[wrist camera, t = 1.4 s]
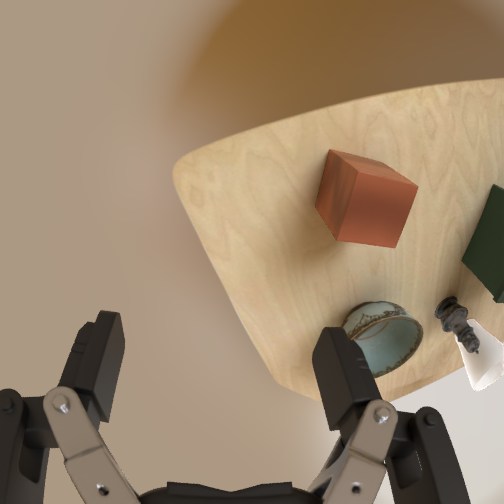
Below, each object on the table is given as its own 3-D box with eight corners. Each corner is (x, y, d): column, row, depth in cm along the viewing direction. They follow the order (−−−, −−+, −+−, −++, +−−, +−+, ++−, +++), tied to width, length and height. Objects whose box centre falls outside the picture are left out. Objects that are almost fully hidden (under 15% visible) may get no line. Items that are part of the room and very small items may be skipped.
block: (329, 149, 31) (358, 170, 25) (382, 162, 32) (418, 186, 26) (314, 206, 35) (336, 240, 28) (366, 215, 36) (395, 248, 29)
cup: (482, 301, 48) (516, 347, 37) (482, 327, 53) (510, 369, 42) (443, 329, 51) (474, 379, 39) (447, 352, 56) (472, 397, 44)
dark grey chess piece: (462, 293, 46) (496, 337, 36) (450, 317, 49) (480, 361, 39) (440, 296, 45) (475, 344, 35) (429, 321, 49) (459, 369, 38)
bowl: (308, 315, 44) (321, 356, 37) (386, 265, 40) (411, 301, 34) (344, 355, 50) (358, 391, 44) (409, 315, 47) (430, 348, 40)
